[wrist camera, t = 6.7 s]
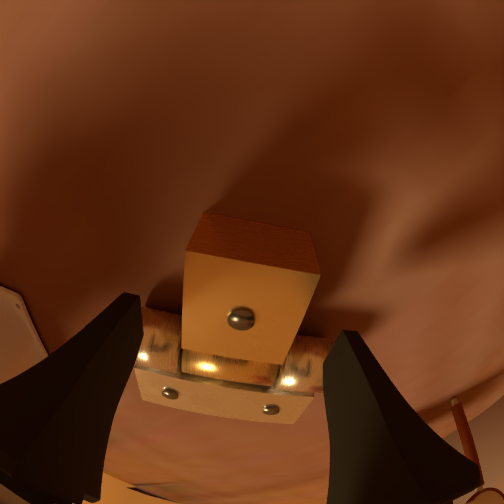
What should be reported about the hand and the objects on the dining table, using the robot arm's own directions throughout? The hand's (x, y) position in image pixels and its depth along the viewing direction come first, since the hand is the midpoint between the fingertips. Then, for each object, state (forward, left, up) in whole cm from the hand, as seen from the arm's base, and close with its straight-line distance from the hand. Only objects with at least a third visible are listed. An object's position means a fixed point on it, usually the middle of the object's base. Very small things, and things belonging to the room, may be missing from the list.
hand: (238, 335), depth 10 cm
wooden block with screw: (-1, 0, -4) cm, 4 cm away
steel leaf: (-6, 0, -4) cm, 7 cm away
